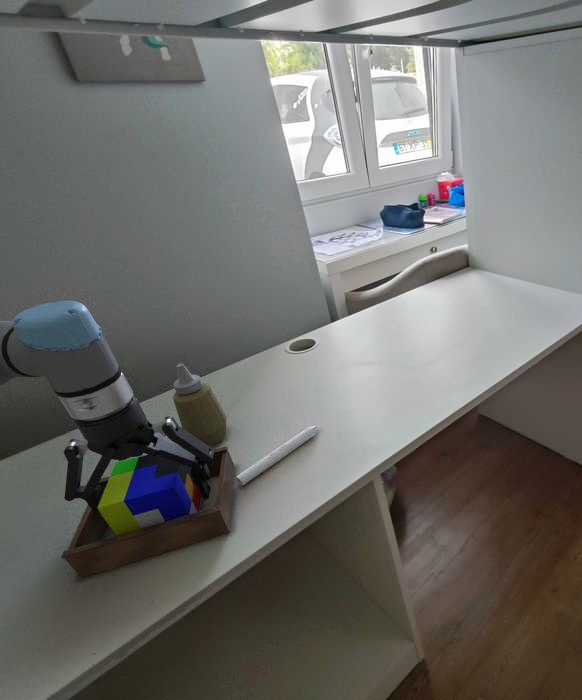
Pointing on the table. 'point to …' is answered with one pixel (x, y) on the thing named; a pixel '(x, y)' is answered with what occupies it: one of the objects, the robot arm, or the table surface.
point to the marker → (276, 455)
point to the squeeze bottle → (198, 407)
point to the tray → (152, 529)
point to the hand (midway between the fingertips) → (163, 506)
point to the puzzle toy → (148, 493)
